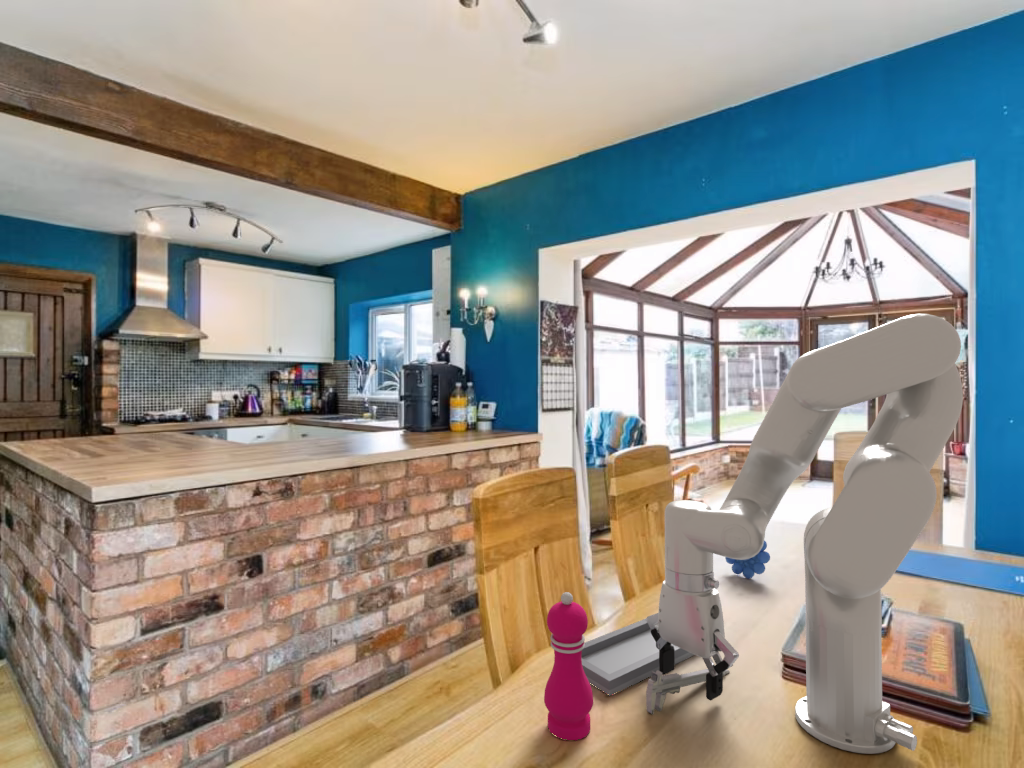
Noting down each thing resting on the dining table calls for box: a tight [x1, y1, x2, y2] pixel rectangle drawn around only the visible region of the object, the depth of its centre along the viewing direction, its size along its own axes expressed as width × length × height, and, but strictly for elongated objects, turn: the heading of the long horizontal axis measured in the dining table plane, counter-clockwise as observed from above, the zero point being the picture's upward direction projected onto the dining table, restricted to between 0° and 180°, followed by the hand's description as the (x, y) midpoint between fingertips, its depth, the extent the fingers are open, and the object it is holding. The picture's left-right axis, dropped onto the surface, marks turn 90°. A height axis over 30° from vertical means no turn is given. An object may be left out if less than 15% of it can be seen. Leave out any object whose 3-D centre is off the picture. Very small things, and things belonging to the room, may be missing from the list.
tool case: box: [581, 618, 695, 697], centre depth 102 cm, size 12×27×2 cm, turn 126°
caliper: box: [645, 668, 731, 715], centre depth 91 cm, size 20×1×6 cm, turn 126°
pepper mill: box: [543, 591, 594, 741], centre depth 82 cm, size 7×7×20 cm
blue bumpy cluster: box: [725, 539, 771, 579], centre depth 141 cm, size 12×7×12 cm, turn 39°
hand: (689, 683), depth 91 cm, fingers open, 8 cm apart
